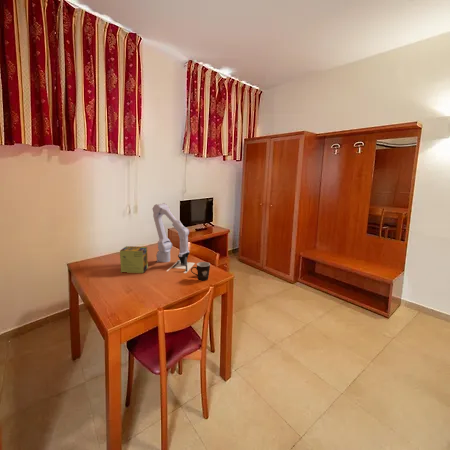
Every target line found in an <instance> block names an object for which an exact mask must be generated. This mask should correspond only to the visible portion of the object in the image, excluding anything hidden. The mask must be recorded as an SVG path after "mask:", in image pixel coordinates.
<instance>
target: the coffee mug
mask: <svg viewBox="0 0 450 450" xmlns="http://www.w3.org/2000/svg"><path fill="white" fill-rule="evenodd" d="M193 269H196V271H197V272H196V273H195V272H193ZM210 269H211V263H210V262H207V261H200V262H197V263H196V266H192V267H191V268H190V272H191V273H192V274H193V275H195V276H197V278H198V281H200V282H206V281H208V280H209V275H210Z"/></svg>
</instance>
